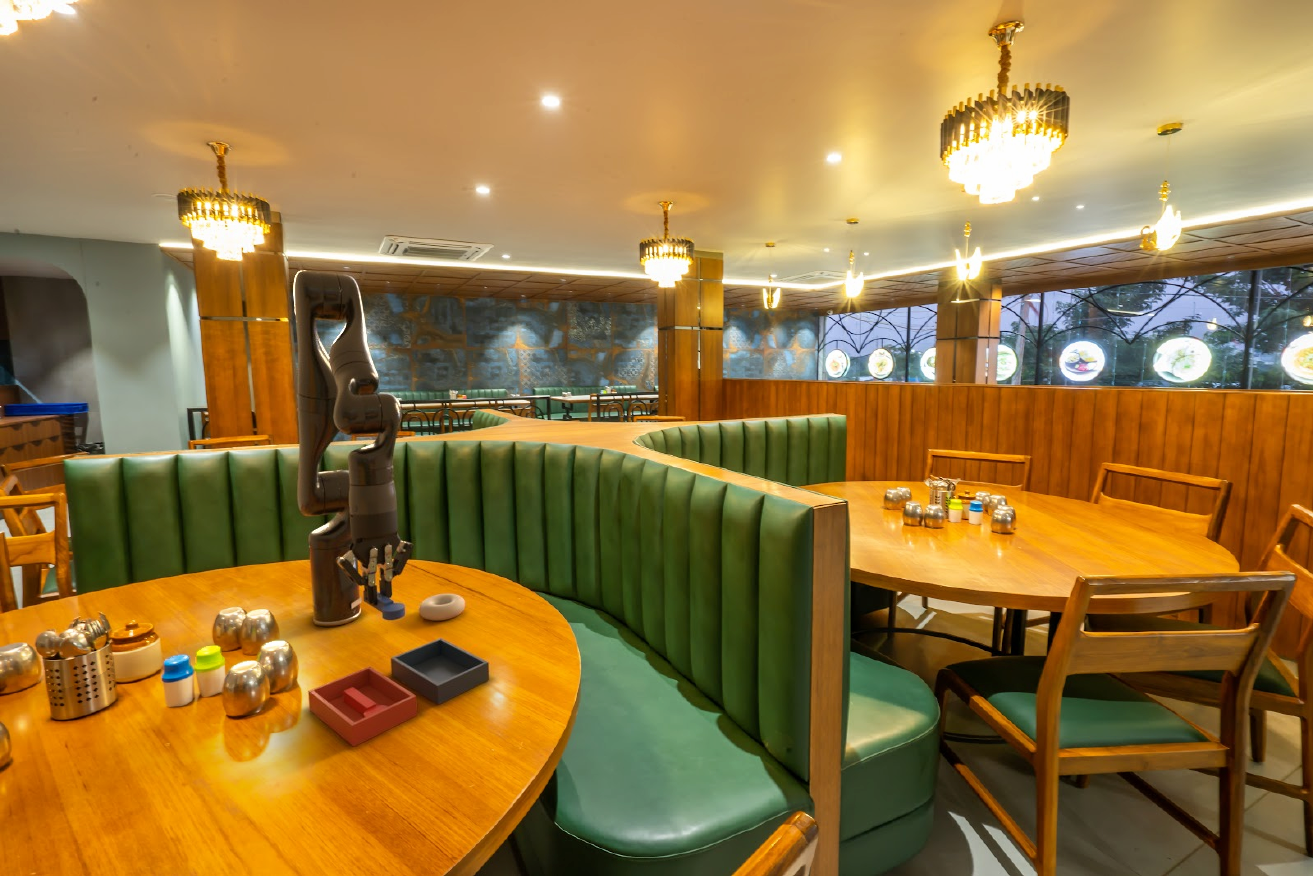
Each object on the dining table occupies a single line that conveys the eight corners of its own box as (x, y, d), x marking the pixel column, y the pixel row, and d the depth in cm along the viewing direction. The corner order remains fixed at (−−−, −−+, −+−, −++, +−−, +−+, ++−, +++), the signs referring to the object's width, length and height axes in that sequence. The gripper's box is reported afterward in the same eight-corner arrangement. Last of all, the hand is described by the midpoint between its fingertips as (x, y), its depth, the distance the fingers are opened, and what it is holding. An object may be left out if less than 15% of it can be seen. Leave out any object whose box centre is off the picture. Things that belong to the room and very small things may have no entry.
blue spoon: (357, 602, 107) (357, 592, 107) (377, 596, 110) (377, 586, 110) (388, 622, 100) (388, 611, 100) (409, 615, 103) (408, 604, 103)
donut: (409, 621, 131) (450, 624, 129) (408, 606, 131) (450, 609, 129) (435, 604, 141) (473, 606, 139) (434, 590, 141) (473, 592, 139)
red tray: (309, 710, 98) (308, 690, 97) (370, 684, 106) (369, 666, 105) (353, 747, 88) (352, 725, 88) (417, 715, 96) (416, 696, 96)
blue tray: (391, 675, 109) (390, 658, 108) (441, 654, 117) (441, 638, 116) (438, 705, 99) (437, 686, 99) (489, 680, 107) (488, 662, 107)
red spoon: (337, 704, 98) (336, 693, 98) (359, 695, 101) (358, 684, 101) (371, 730, 92) (370, 718, 91) (393, 719, 94) (393, 708, 94)
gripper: (400, 498, 111) (404, 587, 113) (322, 511, 101) (329, 609, 103) (421, 503, 107) (425, 596, 109) (342, 518, 96) (348, 621, 98)
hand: (378, 602), depth 106 cm, fingers closed on blue spoon, 1 cm apart
